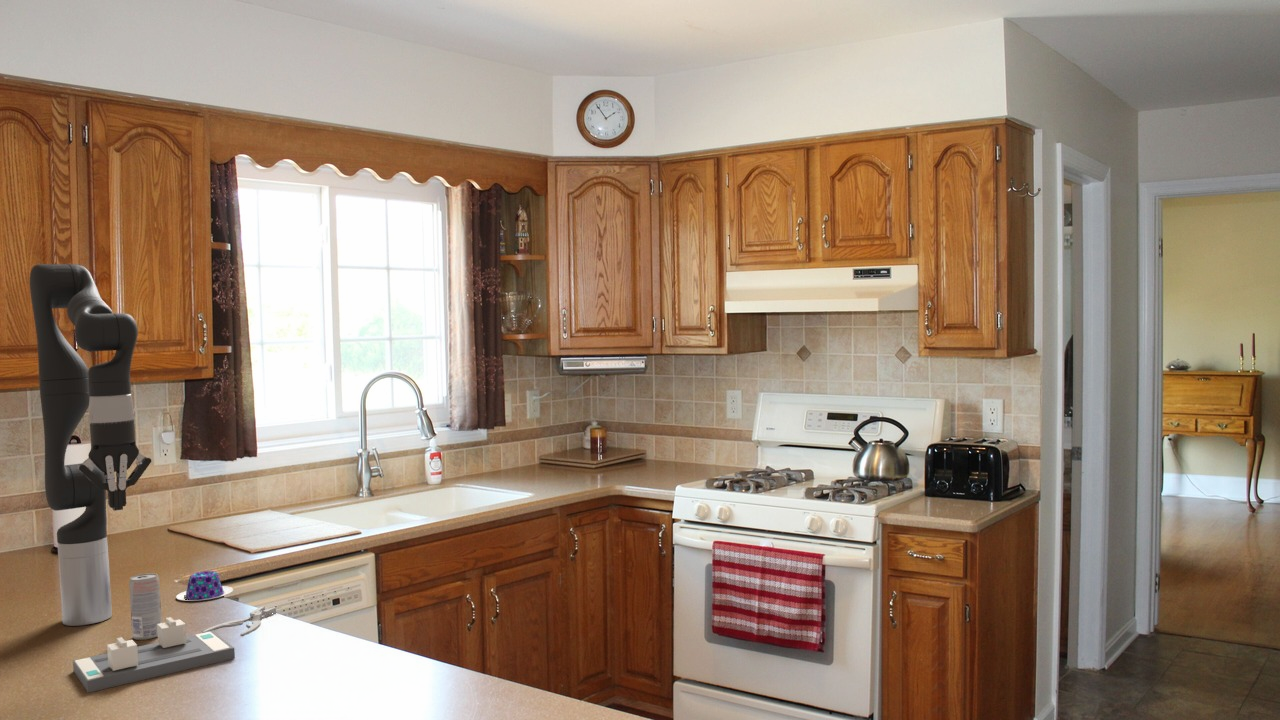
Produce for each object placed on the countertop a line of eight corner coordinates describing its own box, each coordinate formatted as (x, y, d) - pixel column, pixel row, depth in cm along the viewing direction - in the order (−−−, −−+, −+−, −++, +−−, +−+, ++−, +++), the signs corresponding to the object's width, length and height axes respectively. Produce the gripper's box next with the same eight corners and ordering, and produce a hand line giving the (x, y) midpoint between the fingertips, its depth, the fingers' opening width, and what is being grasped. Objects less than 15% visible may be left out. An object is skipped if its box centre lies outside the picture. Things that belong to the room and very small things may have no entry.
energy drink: (156, 630, 204) (153, 571, 204) (166, 635, 201) (162, 575, 200) (128, 636, 201) (124, 577, 200) (137, 642, 197) (134, 581, 196)
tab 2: (158, 642, 188) (156, 619, 188) (181, 638, 191) (179, 615, 191) (163, 648, 185) (161, 624, 185) (186, 643, 188) (185, 619, 188)
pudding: (169, 605, 223) (167, 582, 223) (184, 591, 235) (183, 569, 235) (226, 601, 225) (224, 578, 225) (238, 587, 237) (237, 565, 237)
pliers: (201, 627, 201) (249, 605, 216) (201, 635, 201) (249, 612, 216) (243, 629, 198) (289, 607, 213) (243, 637, 198) (289, 614, 213)
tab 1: (108, 665, 177) (106, 640, 177) (133, 659, 179) (131, 635, 179) (113, 670, 174) (111, 645, 174) (138, 665, 176) (136, 640, 176)
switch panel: (73, 671, 181) (72, 659, 181) (213, 640, 196) (212, 629, 196) (88, 692, 170) (87, 680, 170) (234, 658, 185) (234, 646, 185)
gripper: (145, 414, 198) (150, 502, 199) (68, 421, 190) (74, 512, 191) (154, 416, 192) (159, 507, 193) (75, 423, 184) (82, 517, 185)
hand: (117, 509), depth 192 cm, fingers closed
